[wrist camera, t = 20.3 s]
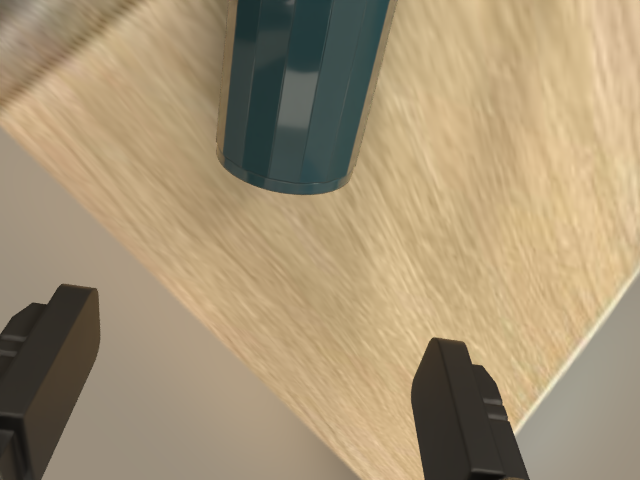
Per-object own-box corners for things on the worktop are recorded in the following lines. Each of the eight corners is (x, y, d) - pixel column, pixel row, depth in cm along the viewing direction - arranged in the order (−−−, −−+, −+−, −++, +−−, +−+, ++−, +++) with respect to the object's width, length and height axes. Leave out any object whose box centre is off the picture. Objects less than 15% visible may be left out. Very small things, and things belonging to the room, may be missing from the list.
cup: (204, 180, 22) (225, -81, 17) (227, 121, 28) (248, -93, 22) (355, 206, 23) (420, -39, 18) (349, 143, 28) (398, -60, 23)
